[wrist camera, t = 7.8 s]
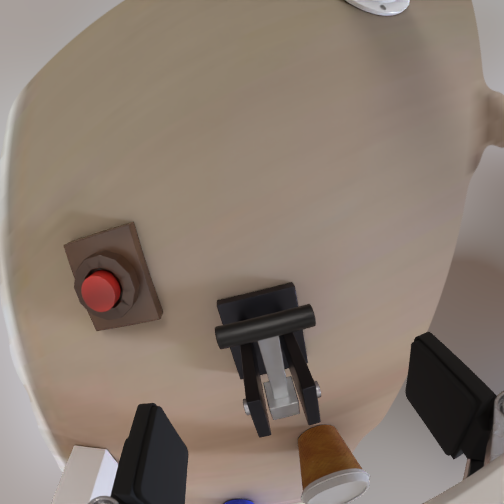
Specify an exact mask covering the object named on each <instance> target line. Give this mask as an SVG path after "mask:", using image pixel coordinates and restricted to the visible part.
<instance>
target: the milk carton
mask: <svg viewBox="0 0 504 504" xmlns="http://www.w3.org/2000/svg"><path fill="white" fill-rule="evenodd" d="M117 468H118V463H117V462H116V461H115V460H114V458H113V457H112V456H111V454H110V453H109V452H108V451H107V449H100V448H91V447H84V446H77V445H74V447H73V450H72V452H71V454H70V457H69V459H68V462H67V464H66V467H65V469H64V472H63V474H62V477H61V479H60V482H59V484H58V487H57V490H56V492H55V495H54V498H53V500H52V503H51V504H88V503H89V502H90V501H91V500H92V499H94V498H96V497H99V496H109V497H110V496H111V492H112V488H113V484H114V480H115V476H116V472H117Z"/></svg>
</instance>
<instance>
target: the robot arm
mask: <svg viewBox="0 0 504 504" xmlns="http://www.w3.org/2000/svg"><path fill="white" fill-rule="evenodd" d="M345 1H347V2H348V3H350V4H352V5H354V6H355V7H357V8H360V9H362V10H364V11H367V12H370V13H373V14H377V15H383V16H392V15H396V14H399V13H401V12H402V11H403V10H405V9H406V8H407V6H408V5H409V1H410V0H345ZM406 397H407V399H408V400H409V402H410V403H411V404H412V406H413V407H414V409H415V410H416V412H417V413H418V414H419V416H420V417H421V419H422V420H423V421H424V423H425V424H426V426H427V427H428V429H429V430H430V432H431V433H432V435H433V436H434V437H435V439H436V440H437V442H438V443H439V445H440V446H441V448H442V449H443V451H444V452H445V454H446V455H451V456H452V458H453V459H455V458H457V457H459V456H460V455H461V454H463V453H464V454H465V455H466V457H467V463H466V468H465V473H464V477H463V481H461V482H460V483H458V484H456V485H455V486H453V487H451V488H450V489H448V490H446V491H445V492H443V493H441V494H439V495H438V496H436V497H434V498H432V499H430V500H429V501H427V502H425V503H423V504H504V391H502V392H501V393H500V394H499V395H497V396H496V395H495V394H494V393H493V392H492V391H491V390H490V388H489V387H487V386H486V384H485V383H484V382H482V380H480V379H479V378H478V377H477V376H476V375H475V374H474V373H473V372H472V371H471V370H470V369H469V368H468V367H467V366H466V365H465V364H464V363H463V362H462V361H461V360H460V359H459V358H458V357H457V356H456V355H454V354H453V353H452V352H451V351H450V350H449V349H448V348H447V347H446V346H445V345H444V344H443V343H442V342H440V341H439V340H438V339H437V338H436V337H435V336H434V335H433V334H432V333H430V332H427V333H424V334H422V335H420V336H417V337H415V339H414V342H413V343H412V344H411V352H410V362H409V370H408V377H407V384H406ZM187 465H188V450H187V447H186V445H185V444H184V443H183V441H182V440H181V438H180V437H179V435H178V433H177V432H176V430H175V429H174V427H173V426H172V424H171V423H170V421H169V419H168V418H167V416H166V414H165V413H164V411H163V410H162V408H161V407H160V406H157V405H156V404H155V403H148V404H139V405H138V407H137V411H136V414H135V417H134V420H133V424H132V427H131V431H130V434H129V437H128V438H127V439H126V441H125V443H124V447H123V450H122V454H121V457H120V461H119V465H118V468H117V472H116V476H115V480H114V484H113V488H112V492H111V496H110V497H109V496H99V497H96V498H94V499H92V500H91V501H90V502H89V503H88V504H185V492H186V478H187Z"/></svg>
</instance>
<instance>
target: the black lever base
mask: <svg viewBox="0 0 504 504" xmlns="http://www.w3.org/2000/svg"><path fill="white" fill-rule="evenodd" d="M217 307H218V311H219V314H220V317H221V320H222V324H223V325H226V324H231V323H235V322H239V321H244V320H248V319H252V318H256V317H260V316H264V315H268V314H272V313H276V312H280V311H284V310H288V309H292V308H296V307H298V301H297V296H296V290H295V286H294V284H293V283H292V282H291V283H287V284H283V285H279V286H275V287H271V288H267V289H263V290H259V291H255V292H251V293H247V294H243V295H238V296H234V297H230V298H226V299H221V300H217ZM279 341H280V346H281V352H282V358H283V363H284V369H287V368H289V369H290V372H291V375H292V378H293V381H294V384H295V387H296V389H297V392H298V395H299V398H300V401H301V404H302V407H303V410H304V413H305V416H306V419H307V422H308V425H313V424H316V423H319V422H320V413H319V405H318V398H319V397H321V391H320V387H319V384H318V382H317V381H314V380H313V378H312V375H311V373H310V371H309V368H308V366H307V364H306V363H308V360H307V354H306V348H305V342H304V336H303V330H299V331H295V332H291V333H288V334H284V335H280V336H279ZM230 349H231V352H232V355H233V358H234V361H235V364H236V367H237V370H238V373H239V376H240V379H244V386H245V395H246V399H243V405H244V410H245V413H246V415H251V417H252V420H253V422H254V425H255V428H256V430H257V433H258V436H259V437H265V436H269V435H271V430H270V425H269V419H268V414H267V409H266V404H265V399H264V393H263V388H262V383H261V378H260V375H263V374H267V372H266V368H265V365H264V361H263V358H262V354H261V351H260V347H259V344H258V341H256V342H251V343H247V344H243V345H238V346H234V347H230Z"/></svg>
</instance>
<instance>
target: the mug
mask: <svg viewBox="0 0 504 504" xmlns="http://www.w3.org/2000/svg"><path fill="white" fill-rule="evenodd" d="M224 504H254V503H253V502H251V501H249V500H245V499H236V500H230V501H227V502H225V503H224Z"/></svg>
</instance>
